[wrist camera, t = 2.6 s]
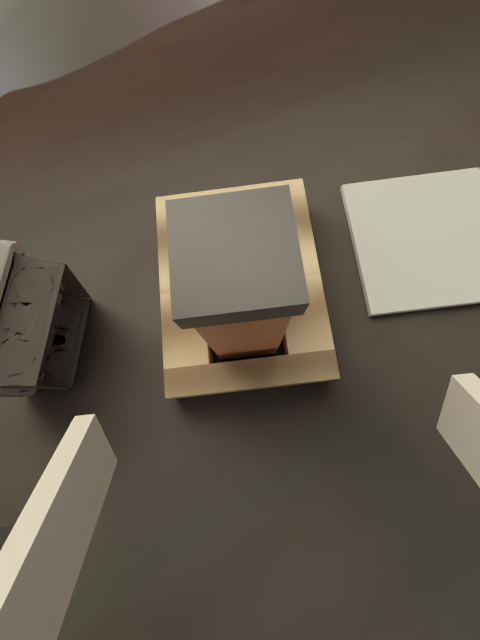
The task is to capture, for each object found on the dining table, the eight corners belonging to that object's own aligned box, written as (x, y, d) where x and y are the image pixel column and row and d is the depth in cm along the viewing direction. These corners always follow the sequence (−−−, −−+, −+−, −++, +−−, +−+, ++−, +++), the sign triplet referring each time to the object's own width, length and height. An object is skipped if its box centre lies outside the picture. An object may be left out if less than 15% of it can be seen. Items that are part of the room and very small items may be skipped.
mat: (368, 316, 25) (371, 314, 25) (340, 189, 28) (342, 184, 28) (519, 298, 25) (525, 296, 24) (474, 172, 28) (478, 167, 27)
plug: (280, 356, 25) (309, 303, 11) (217, 364, 25) (171, 319, 11) (271, 297, 26) (288, 184, 12) (212, 304, 26) (165, 200, 13)
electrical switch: (52, 286, 27) (-33, 231, 18) (111, 292, 27) (56, 240, 18) (25, 396, 25) (-87, 395, 16) (90, 401, 25) (15, 404, 16)
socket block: (330, 381, 24) (341, 377, 21) (175, 398, 24) (163, 398, 21) (297, 201, 28) (303, 174, 25) (165, 218, 28) (154, 194, 25)
